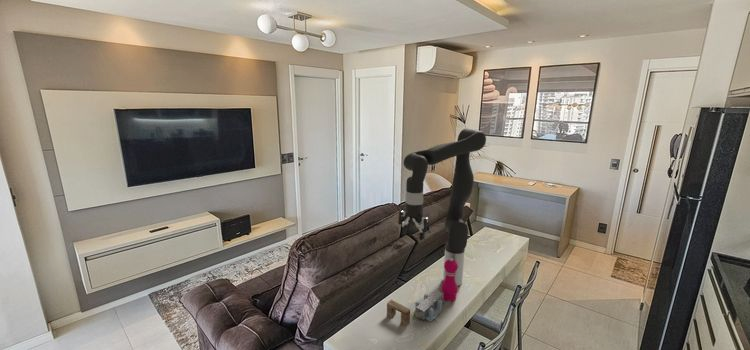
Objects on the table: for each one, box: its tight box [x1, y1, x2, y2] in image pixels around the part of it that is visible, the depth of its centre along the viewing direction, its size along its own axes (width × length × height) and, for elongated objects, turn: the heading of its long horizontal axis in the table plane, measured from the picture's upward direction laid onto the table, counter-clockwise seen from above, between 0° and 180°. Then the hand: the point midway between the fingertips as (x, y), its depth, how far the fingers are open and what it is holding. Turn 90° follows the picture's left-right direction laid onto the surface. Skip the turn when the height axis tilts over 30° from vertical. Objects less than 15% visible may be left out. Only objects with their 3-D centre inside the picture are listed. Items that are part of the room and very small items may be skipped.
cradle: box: [413, 293, 443, 322], centre depth 133 cm, size 9×8×5 cm
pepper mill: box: [440, 257, 459, 302], centre depth 141 cm, size 7×7×20 cm
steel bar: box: [415, 289, 444, 321], centre depth 134 cm, size 16×4×4 cm, turn 139°
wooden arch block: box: [386, 299, 411, 327], centre depth 129 cm, size 3×10×6 cm, turn 49°
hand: (413, 237), depth 136 cm, fingers open, 8 cm apart
